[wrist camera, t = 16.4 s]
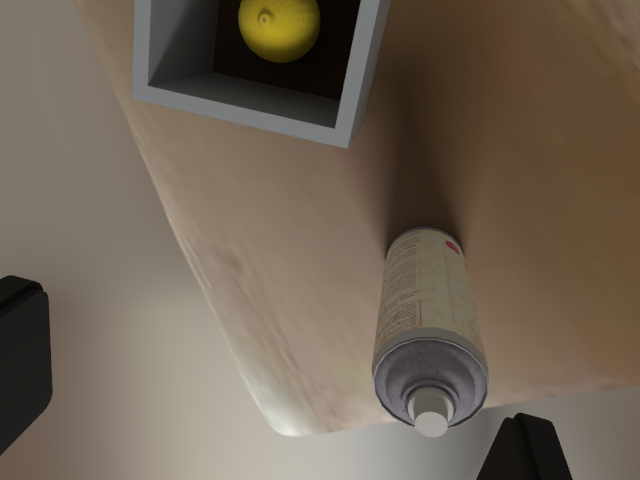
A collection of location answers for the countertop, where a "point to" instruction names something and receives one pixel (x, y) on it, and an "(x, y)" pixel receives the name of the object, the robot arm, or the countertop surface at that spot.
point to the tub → (240, 94)
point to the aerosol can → (428, 335)
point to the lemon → (279, 27)
